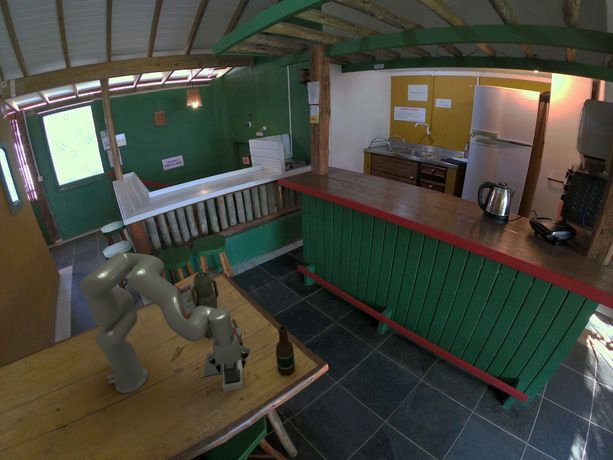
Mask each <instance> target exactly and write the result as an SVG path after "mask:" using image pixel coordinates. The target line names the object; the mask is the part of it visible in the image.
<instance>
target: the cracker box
mask: <svg viewBox="0 0 613 460" xmlns="http://www.w3.org/2000/svg"><path fill="white" fill-rule="evenodd" d="M198 273H199V272H195V273H193V274H191V275H189V276H187V277H186V278H184V279H182V280H180V281H178V282H176V283H174V284H173V286H175V287H176V288H177V289H178V302H179V309H180V312H181V314H182V315H183V317H184V318H185V319H186V320H189V319H190V317H191V315H192V313H193V311H194V310H195V308H196V307H195V305H194V302H193V298H192V294H191V289H192V288H193V286H194V277H195V275H196V274H198ZM194 293H195V297H196V298H197V292H196V290H195V291H194ZM196 301H197V300H196Z"/></svg>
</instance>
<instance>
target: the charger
mask: <svg viewBox="0 0 613 460" xmlns="http://www.w3.org/2000/svg"><path fill="white" fill-rule="evenodd" d="M224 376H225V380H226V384H231V383H237V382H239V370H238V365H237V361H235V362H230V363H225V364H224Z"/></svg>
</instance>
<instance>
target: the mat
mask: <svg viewBox="0 0 613 460" xmlns="http://www.w3.org/2000/svg"><path fill="white" fill-rule="evenodd" d="M211 353H212V352H210V353H207V354H206V356H208V355H209V354H211ZM213 359H215V357H213ZM204 365H205V366H204V372H203V373H204V375H203V377H204V378H207V377H213V376H218V375H223V366H224V364H220V365H221V372H220V373H219V372H218V370H216V366H214V365H213V364H211V363H210V362H209V361H207V360H206V359H205V364H204Z"/></svg>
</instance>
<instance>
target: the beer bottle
mask: <svg viewBox="0 0 613 460" xmlns="http://www.w3.org/2000/svg"><path fill="white" fill-rule="evenodd" d="M277 332H278V335H279V337H278V342H277V343H276V348H275V356H276V365H277V366H276V367H277V371H278V373H280V374H281V375H282V376H290V375H292V373H294V371H295V364H296V363H295V351H294V344H293V343H292V342H291V341H290V340H289V336H288V327H287V326H286V325H280V326H278V331H277Z"/></svg>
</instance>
